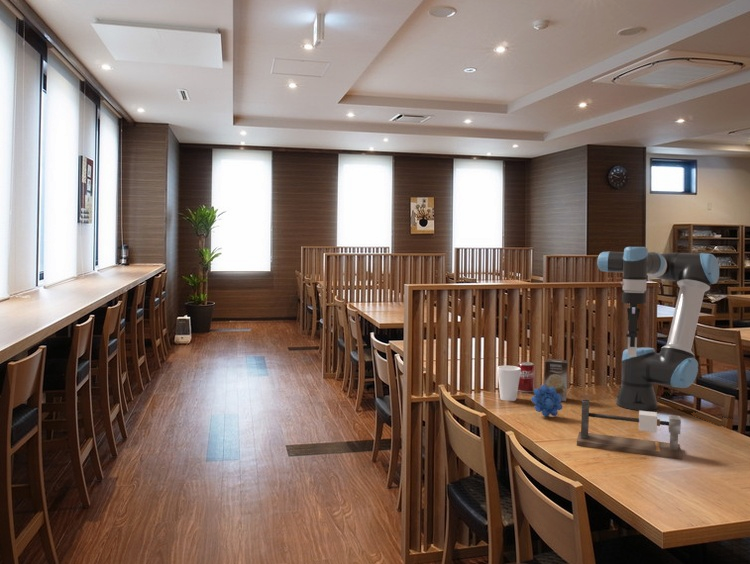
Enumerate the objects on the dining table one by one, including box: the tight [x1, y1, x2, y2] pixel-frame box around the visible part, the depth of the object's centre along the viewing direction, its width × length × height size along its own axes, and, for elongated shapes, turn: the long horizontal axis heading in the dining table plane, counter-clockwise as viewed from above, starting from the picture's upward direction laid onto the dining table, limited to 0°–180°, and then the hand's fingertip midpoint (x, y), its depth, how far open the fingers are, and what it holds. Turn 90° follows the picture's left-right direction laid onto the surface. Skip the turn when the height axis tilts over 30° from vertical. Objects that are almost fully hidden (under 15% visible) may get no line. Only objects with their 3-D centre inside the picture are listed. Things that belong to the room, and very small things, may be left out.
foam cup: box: [496, 365, 521, 402], centre depth 248 cm, size 10×9×13 cm
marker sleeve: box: [638, 410, 658, 433], centre depth 188 cm, size 5×5×5 cm
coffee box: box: [543, 358, 569, 402], centre depth 249 cm, size 9×6×16 cm
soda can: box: [516, 361, 535, 393], centre depth 262 cm, size 7×7×12 cm
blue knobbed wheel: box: [530, 384, 563, 418], centre depth 222 cm, size 12×7×12 cm, turn 91°
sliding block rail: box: [576, 398, 683, 460], centre depth 190 cm, size 30×10×14 cm, turn 67°
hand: (631, 353), depth 208 cm, fingers open, 13 cm apart
